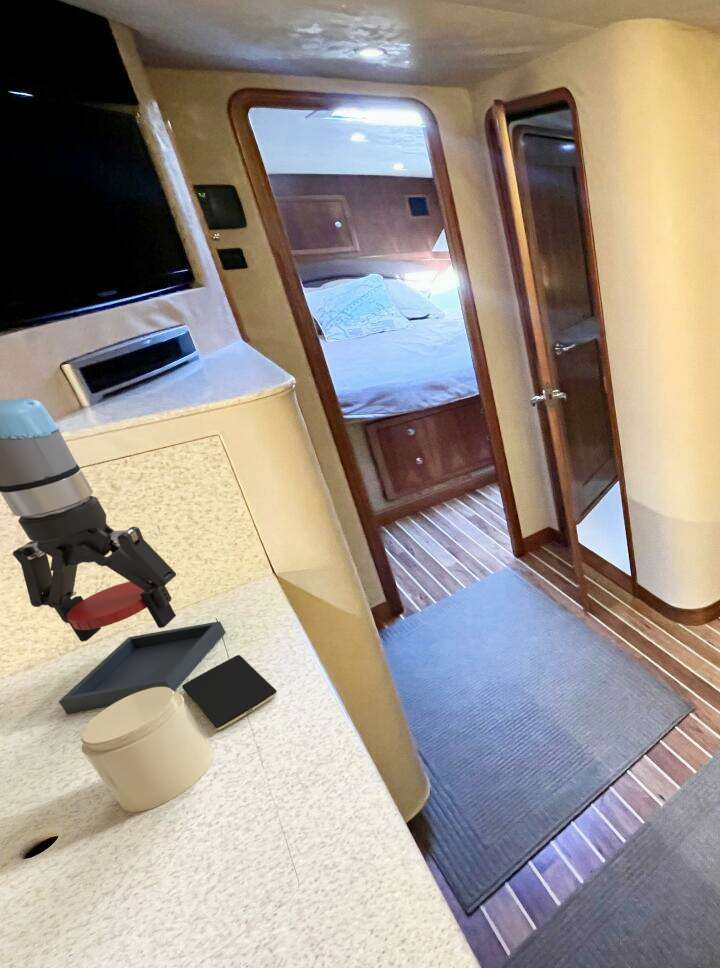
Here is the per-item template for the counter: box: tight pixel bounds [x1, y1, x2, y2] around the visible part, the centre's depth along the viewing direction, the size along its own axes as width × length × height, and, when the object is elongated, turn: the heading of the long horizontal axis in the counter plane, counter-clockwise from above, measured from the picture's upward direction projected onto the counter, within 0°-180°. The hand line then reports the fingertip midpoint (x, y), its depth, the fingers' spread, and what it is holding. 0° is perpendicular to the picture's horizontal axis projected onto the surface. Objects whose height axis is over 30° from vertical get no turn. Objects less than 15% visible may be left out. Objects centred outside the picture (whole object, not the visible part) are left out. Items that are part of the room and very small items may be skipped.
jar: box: [80, 687, 215, 813], centre depth 68 cm, size 9×9×12 cm
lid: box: [67, 581, 151, 630], centre depth 83 cm, size 10×10×2 cm
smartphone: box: [182, 654, 278, 731], centre depth 82 cm, size 7×1×15 cm
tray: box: [58, 620, 227, 715], centre depth 87 cm, size 14×14×3 cm
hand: (129, 628), depth 84 cm, fingers closed on lid, 9 cm apart
